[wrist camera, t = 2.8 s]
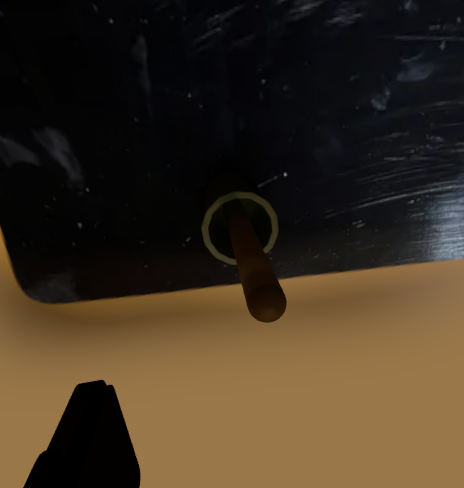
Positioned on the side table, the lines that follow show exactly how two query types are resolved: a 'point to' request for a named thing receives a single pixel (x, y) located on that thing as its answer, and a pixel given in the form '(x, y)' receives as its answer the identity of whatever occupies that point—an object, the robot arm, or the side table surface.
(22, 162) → the side table surface
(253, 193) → the holder
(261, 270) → the stick
